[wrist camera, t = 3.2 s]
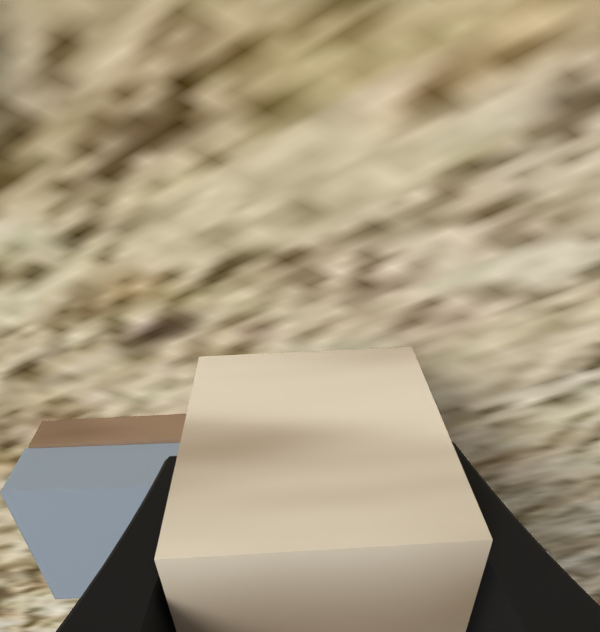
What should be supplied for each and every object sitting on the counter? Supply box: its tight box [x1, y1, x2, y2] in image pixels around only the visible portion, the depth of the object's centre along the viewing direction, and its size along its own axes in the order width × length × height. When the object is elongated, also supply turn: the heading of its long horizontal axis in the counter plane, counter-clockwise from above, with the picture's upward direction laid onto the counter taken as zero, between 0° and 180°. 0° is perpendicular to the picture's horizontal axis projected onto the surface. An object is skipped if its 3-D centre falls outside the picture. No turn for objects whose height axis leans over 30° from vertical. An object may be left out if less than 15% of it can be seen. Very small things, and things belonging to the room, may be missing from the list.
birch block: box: [154, 347, 493, 632], centre depth 10 cm, size 4×4×4 cm
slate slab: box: [0, 443, 180, 599], centre depth 20 cm, size 7×7×2 cm
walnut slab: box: [29, 414, 186, 448], centre depth 21 cm, size 7×7×2 cm
